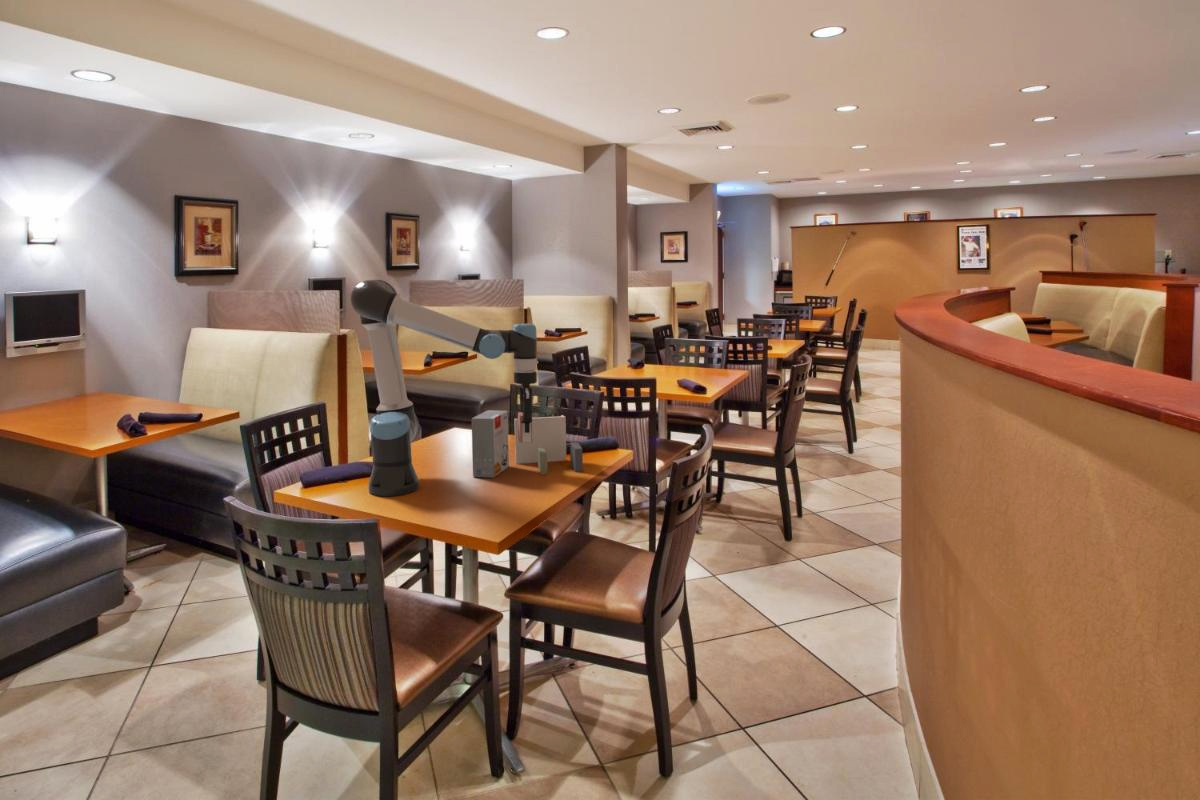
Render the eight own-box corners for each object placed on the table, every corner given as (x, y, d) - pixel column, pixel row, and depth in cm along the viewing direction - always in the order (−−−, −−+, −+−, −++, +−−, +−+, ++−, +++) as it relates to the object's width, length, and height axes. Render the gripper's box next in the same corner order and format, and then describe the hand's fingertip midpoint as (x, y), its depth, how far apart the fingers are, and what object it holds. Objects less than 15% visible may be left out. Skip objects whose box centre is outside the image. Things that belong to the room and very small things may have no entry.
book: (519, 442, 232) (519, 415, 231) (518, 438, 238) (518, 412, 237) (532, 442, 233) (532, 415, 232) (529, 438, 239) (530, 412, 238)
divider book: (541, 474, 235) (540, 453, 234) (538, 467, 243) (537, 448, 242) (547, 473, 236) (546, 453, 234) (544, 467, 243) (543, 447, 242)
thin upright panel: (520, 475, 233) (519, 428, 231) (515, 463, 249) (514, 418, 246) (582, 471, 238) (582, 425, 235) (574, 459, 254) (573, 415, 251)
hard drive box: (494, 478, 230) (492, 419, 227) (472, 477, 232) (469, 418, 228) (509, 466, 245) (507, 410, 242) (489, 465, 247) (486, 409, 243)
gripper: (540, 374, 223) (540, 445, 227) (533, 367, 242) (533, 432, 246) (516, 375, 222) (517, 446, 226) (511, 367, 240) (511, 433, 244)
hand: (525, 439), depth 236 cm, fingers closed on book, 6 cm apart
